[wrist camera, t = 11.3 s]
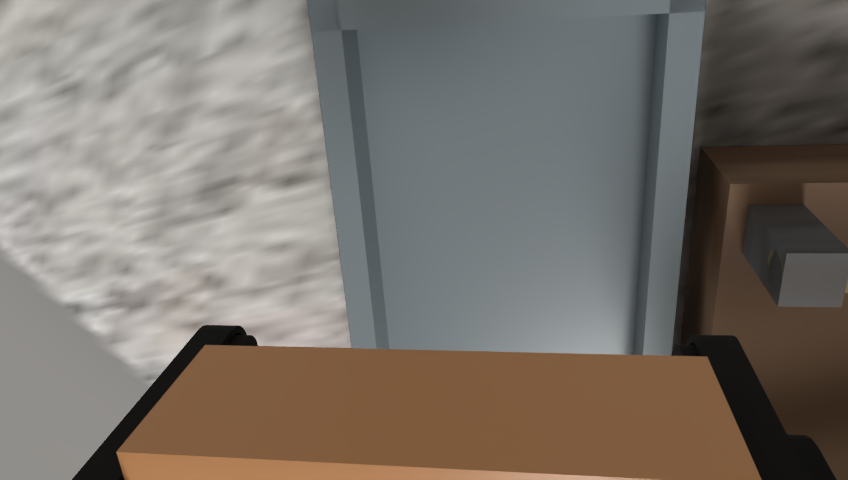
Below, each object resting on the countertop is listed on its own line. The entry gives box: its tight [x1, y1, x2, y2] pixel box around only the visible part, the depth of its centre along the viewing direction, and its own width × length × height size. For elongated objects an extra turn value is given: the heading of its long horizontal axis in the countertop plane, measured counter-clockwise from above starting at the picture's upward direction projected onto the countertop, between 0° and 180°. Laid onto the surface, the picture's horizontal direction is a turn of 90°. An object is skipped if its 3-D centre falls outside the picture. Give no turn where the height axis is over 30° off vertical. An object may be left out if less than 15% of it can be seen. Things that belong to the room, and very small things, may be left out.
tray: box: [307, 0, 706, 356], centre depth 26 cm, size 22×12×3 cm, turn 4°
